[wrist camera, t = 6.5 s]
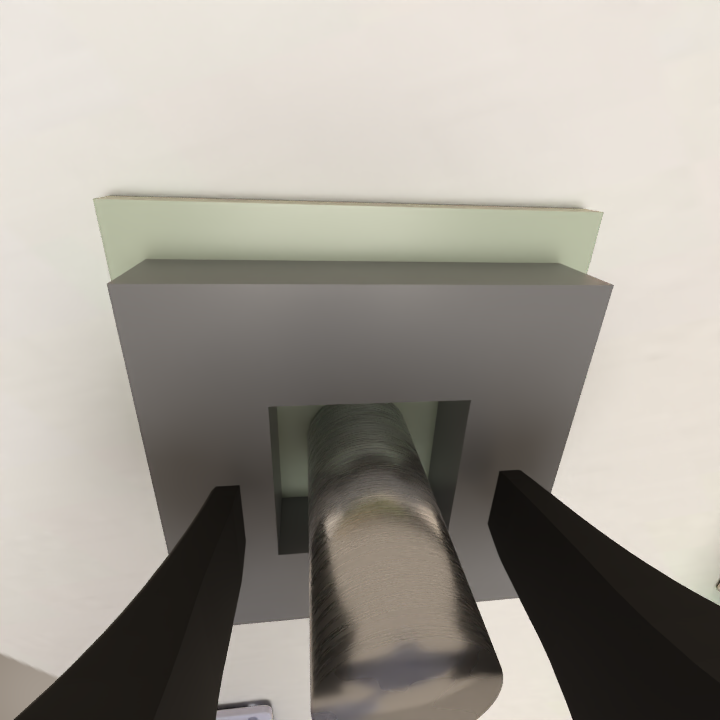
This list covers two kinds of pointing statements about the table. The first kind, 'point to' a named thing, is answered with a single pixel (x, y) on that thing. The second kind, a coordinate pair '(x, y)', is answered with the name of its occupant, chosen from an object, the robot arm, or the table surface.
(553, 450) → the dock
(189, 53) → the table surface
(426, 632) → the silver metal cylinder
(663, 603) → the robot arm
